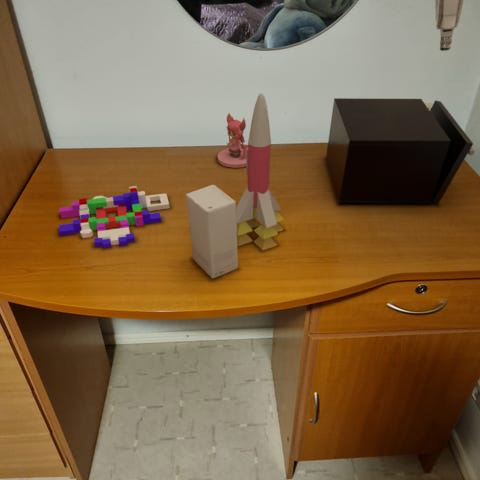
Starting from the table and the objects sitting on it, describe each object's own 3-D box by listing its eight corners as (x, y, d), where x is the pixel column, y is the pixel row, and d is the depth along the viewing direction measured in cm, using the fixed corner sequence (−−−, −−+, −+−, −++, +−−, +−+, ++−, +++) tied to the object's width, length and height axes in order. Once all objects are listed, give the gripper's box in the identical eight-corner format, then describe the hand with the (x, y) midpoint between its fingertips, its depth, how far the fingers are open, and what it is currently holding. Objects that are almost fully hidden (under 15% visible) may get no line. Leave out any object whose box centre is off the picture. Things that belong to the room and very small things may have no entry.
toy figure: (210, 160, 131) (208, 116, 123) (233, 148, 137) (233, 105, 128) (237, 171, 127) (237, 126, 118) (260, 158, 132) (261, 114, 124)
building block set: (59, 254, 101) (53, 236, 98) (61, 203, 115) (56, 187, 112) (177, 238, 106) (175, 220, 102) (165, 191, 120) (163, 174, 116)
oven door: (422, 161, 133) (452, 104, 122) (449, 207, 116) (486, 146, 105) (406, 157, 132) (435, 100, 122) (431, 204, 115) (466, 142, 105)
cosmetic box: (238, 269, 98) (238, 202, 87) (210, 280, 95) (207, 212, 84) (217, 248, 103) (215, 182, 92) (190, 258, 100) (184, 192, 89)
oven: (405, 158, 133) (421, 98, 121) (429, 205, 116) (450, 140, 104) (325, 158, 133) (334, 98, 121) (338, 204, 116) (349, 140, 104)
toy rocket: (294, 239, 106) (308, 97, 84) (247, 255, 101) (250, 111, 80) (264, 213, 113) (270, 77, 92) (219, 227, 108) (215, 88, 87)
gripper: (487, -101, 65) (474, 13, 68) (471, -31, 84) (462, 56, 87) (436, -92, 67) (426, 19, 70) (432, -25, 86) (425, 60, 89)
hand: (446, 40), depth 78 cm, fingers open, 8 cm apart
